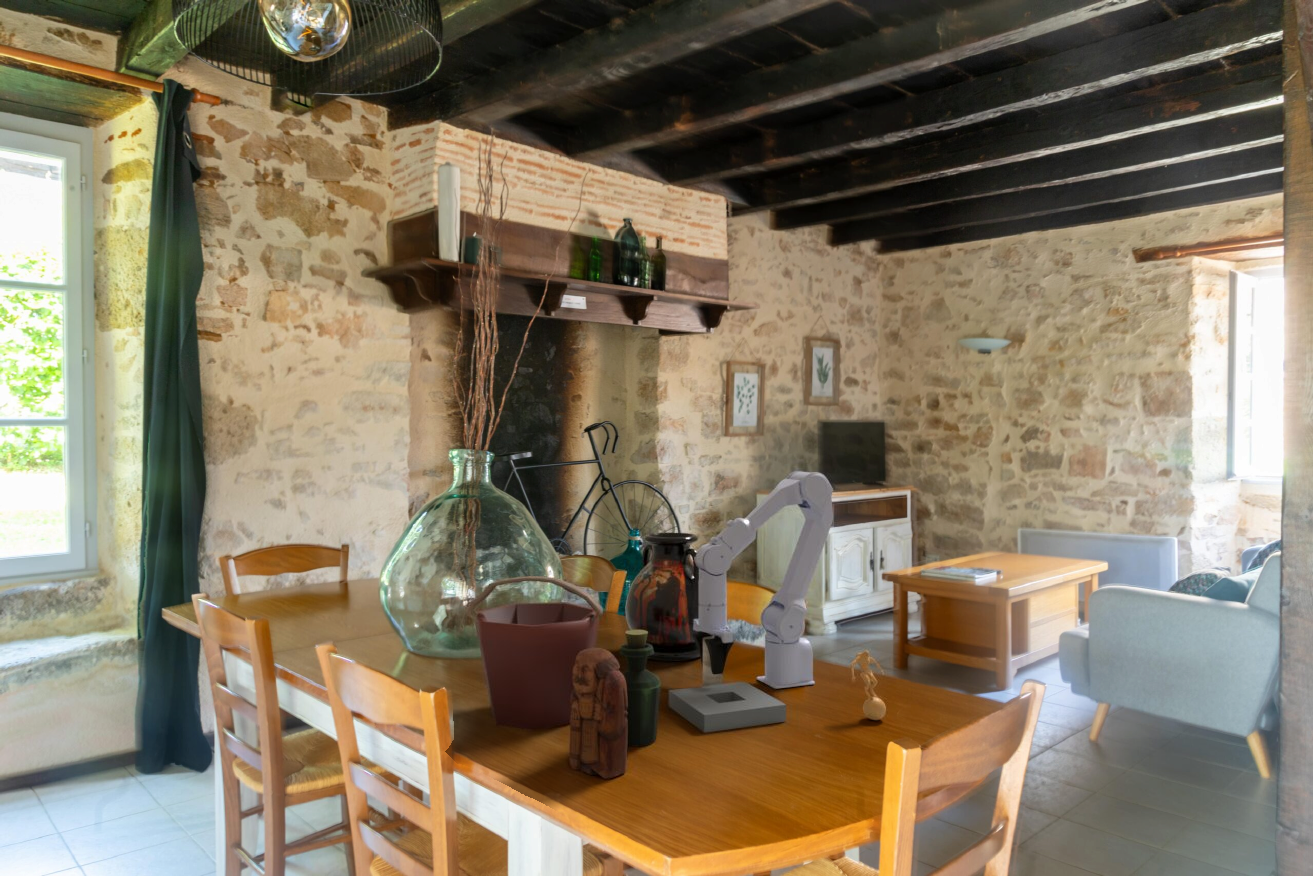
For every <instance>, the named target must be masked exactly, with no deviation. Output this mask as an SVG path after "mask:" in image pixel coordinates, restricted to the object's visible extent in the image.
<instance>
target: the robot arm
mask: <svg viewBox="0 0 1313 876" xmlns="http://www.w3.org/2000/svg"><path fill="white" fill-rule="evenodd" d="M833 492H834V488H833V486H832V485H831V483H830V481H829V480H828V478H827V476H825V475H824V474H823V473H821V472H818V471H817V472H815V471H813V472H809V471H801V470H795V471H792V472H791V473H790V474H788V476H787V477H786V478H784V479H782V480H781V481H779V483H778V484H777V485H776V486H775V488H774V489H773V490H772V491H771V492H770V493H769V494H768V495H767V496H766V497H764V499H762V501H760V502H759V504H757V506H755V508H754V509H753V510H752V511H751V512H750V513H749V514H748V515H747V516H746V517H744V518H743V517H742V518H741V517H737V518H735V519H734V520H732V519H729V520H728V521H727V522H726V525H727V526H726V527H725V528H724V529H723V530H721V531H720V532H719V533H718V534H717V535H716V536H712V537H711V538H710V539H709V541H710V543H707V544H703V545H701V546H700V547H699V548H698V549H697V550H696V551H697V554H696V557H694V560H695V563H696V565H697V567H698V568H699V582H698V584H699V619H694V626H693V630H695V631H699V632H698V633H693V634H692V637H693V639H694V640H695V642H696V645H697V647H698V651H699V654H700V657H699V658H700V662H701V667H702V668H703V638H704V637H708V636H714V639H705V643H706V645H707V648H708V651H709V655H710V663H711V670H712V674H714V675H716V674H724V671H725V666H726V662H727V658H728V655H729V653H730V651H731V648H732V647H733V645H734V643H735V642H734V641H735V640H734V632H733V631H731V629H730V627H729V626H728V623H727V622H728V621H727V619H728V611H727V607H728V606H727V605H728V603H727V598H728V592H727V590H728V586H727V585H728V584H727V583H728V582H727V572H728V571H729V570H730V569H731V566H732V562H733V561H732V560H734V559H735V558H736V557H737V556H739V554H741V553H742V552H743V551H744V550H745V549H746V548H747V547H748V546H750V544H751V543H752V542H754V541H755V540H756V537H757V531H758V529H760V528H761V527H762V526H763V525H765V524H766V523H767V522H768V521H769V520H770V519H771V518H773V517H774V516H775V515H776V514H778V513H779V512H780V511H781V510H783V509H784V508H785V507H788V506H795V505H797V506H798V508H799V509H800V511H801V513H802V514H803V517H804V519H805V520H804V523H803V526H802V529H801V531H800V534H799V537H798V539H797V542H796V545H795V547H794V551H793V553H792V556H791V558H790V561H789V564H788V567H787V570H786V572H785V574H784V577H783V580H782V583H781V585H780V588H779V589H778V590H777V592H775V593H774V594H773V595H772V596H771V598H770V601H769V602H768V604H767V605H766V606H765V607H764V608H763V609H762V612H761V613H760V614H761V615H760V624H761V626H762V628H763V630H765V634H764V675H761V676H757V677H756V680H758V681H760V682H762V683H764V684H766V685H767V686H769V687H771V688H773V689H775V690H776V689H777V690H778V689H783V688H784V689H785V688H792V687H800V686H809V685H815V684H816V682H815V680H814V653H813V647H812V645H811V642H810V641H809V640H808V638H806V637H802V636H803V634H804V632H805V629H806V622H805V619H806V618H805V617H806V614H807V611H808V609H807V605H806V601H805V600H806V599H805V598H806V596H807V593H808V590H809V588H810V585H811V582H812V578H813V576H814V574H815V571H816V568H817V565H818V563H819V560H820V557H821V554H822V552H823V549H824V546H825V543H826V541H827V538H828V535H829V533H830V530H831V527H832V524H833V522H834V510H833V501H832V496H833Z"/></svg>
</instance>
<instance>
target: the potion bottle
mask: <svg viewBox="0 0 1313 876" xmlns="http://www.w3.org/2000/svg"><path fill="white" fill-rule="evenodd" d="M647 635H648V631H645V630H626V631H625V637H626V642H627V643H623V644H622V645H621V646H620V649H619V653H618V654H620V656H624V657H625V661H626V664H627V668H628V669H626V670H624V671H622V672H621V673H622V674H623V676H624V678H625V680H626V686H627V698H628V708H627V710H626V711H627V712H628V715H627V716H626V717H627V720H628V734H627V741H628V743H627V747H628V746H629V747H644V746H648V745H651V744H653V743H654V742H655V741H656V740H657V733H658V719H659V711H660V710H659V708H660V697H661V683H662V682H661V679H660V678H659V676H658V675H657V674H654V673H653V672H651V671H650V670H649V669H646V667H647V662H648V660H649V659H648V656H650V655H652V654H654V650H653V647H652V645H651V644H647V643H646V640H647Z"/></svg>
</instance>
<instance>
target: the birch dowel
mask: <svg viewBox="0 0 1313 876" xmlns="http://www.w3.org/2000/svg"><path fill="white" fill-rule="evenodd" d="M705 639H714V636H708V637H704V638H703V667H702V686H711V685H719V684H724V683H723V681H724V680H723V674H724V673H723V674H716V675H714V674H712V670H711V663H710V655H709V651H708V648H707V645H706V643H705Z"/></svg>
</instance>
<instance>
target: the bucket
mask: <svg viewBox="0 0 1313 876" xmlns="http://www.w3.org/2000/svg"><path fill="white" fill-rule="evenodd" d="M519 582H541V583H547V584H548V583H550V584H553V585H554V586H558V587H560V588H564V589H565V590H567V591H570V592H571V593H573V594H575V595H576V596H577V597H580V598H582V599H583V600H584V601H585V602H586V603H587V604H588V605H589V606H590V607H588V606H584V605H581V604H576V603H572V602H566V601H564V602H562V601H561V602H560V601H559V602H513V603H509V604H504V605H500V606H494V607H490V608H486V609H482V610H477V611H476V610H475V608H476V606H477V605H479V604H480V603H482V602H483V601H484V600H486V599H487V598H488V597H489V596H490V595H491V594H492V593H493V591H495V589H496V588H497V586H499V587H500V586H502V585H507V584H508V585H509V584H512V583H519ZM467 606H468V607H469V608H470V612H471V615H472V616H474V618H475V619H476V620H475V624H476V625H475V627H476V633H477V639H478V644H479V645H478V646H479V649H480V655H481V659H482V666H483V672H484V677H485V678H484V679H485V683H486V688H487V693H488V698H489V704H490V705H489V706H490V711H491V714H492V717H493V719H494V722H495V725H496V726H500V727H507V728H513V729H514V728H515V729H520V730H526V731H527V730H528V731H538V730H544V729H551V728H556V727H560V726H561V727H562V726H567V725H570V712H571V710H572V709H571V708H570V697H571V694H572V691H573V689H574V685H573V681H572V677H573V667H574V665H575V660H576V657H577V655H578V653H579V652H581V651H583V650H585V649H589V648H596V644H597V638H598V634H599V629H600V616H601V615H603V613H604V609H603V607H602V605H601V604H600V603H599V602H598V601H597V600H596V599H595V597H594V596H593V595H592V594H590V593H589V592H588V591H585V590H584V589H582V588H580V587H578V586H577V585H575V584H573V583H570V582H568V581H566V580H563V579H560V578H557V577H550V576H539V575H538V576H536V575H534V576H533V575H528V576H517V577H516V576H515V577H512V578H506V579H501V580H497V581H494V582H491V583H489V584H488V585H487V586H486V587H485V588H484V590H483V591H482V592H481V593H480V594H479V595H478V596H477V597H475V598H472V599H471V600H470V601H469V602H468V603H467Z"/></svg>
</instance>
